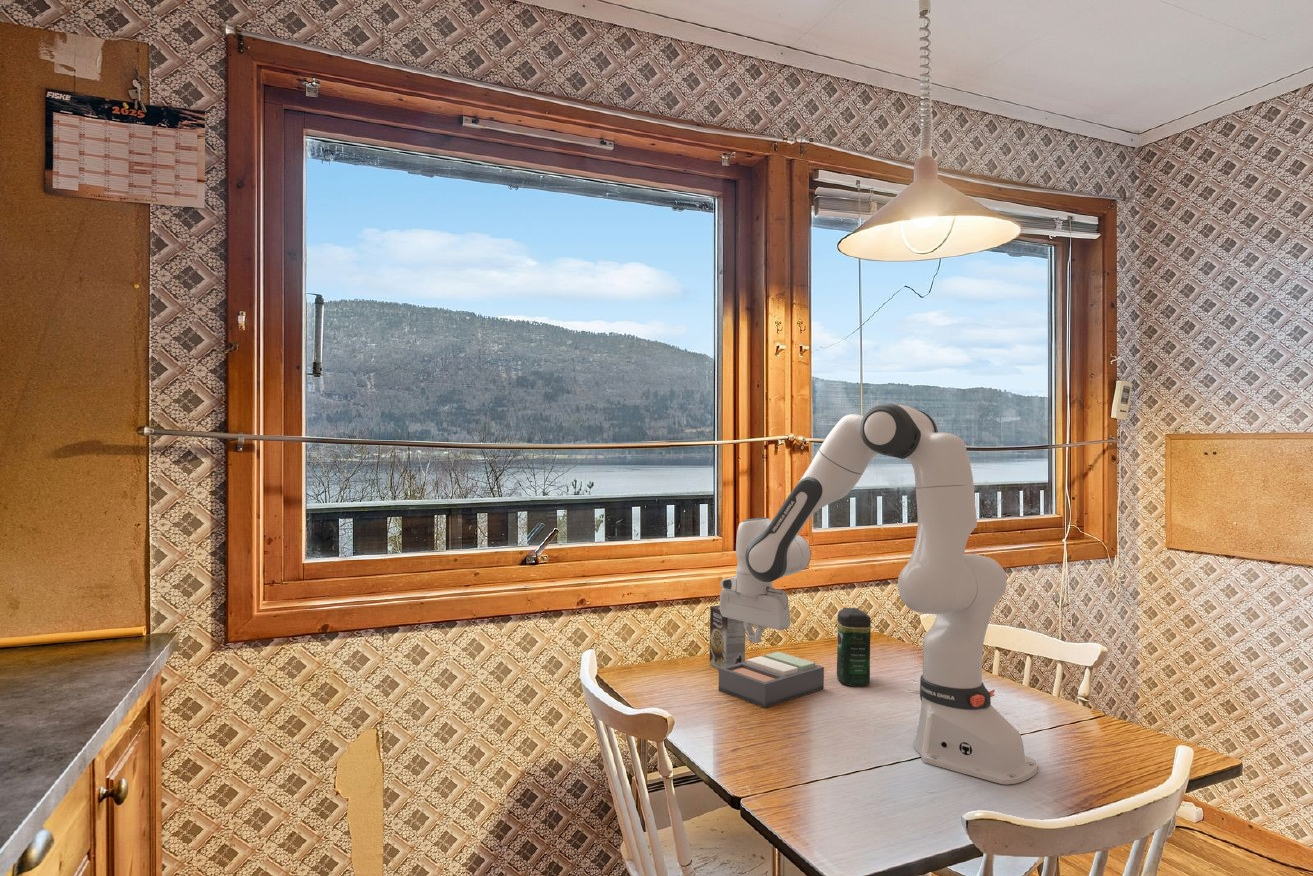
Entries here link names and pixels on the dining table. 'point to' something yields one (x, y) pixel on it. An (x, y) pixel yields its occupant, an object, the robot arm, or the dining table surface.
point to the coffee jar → (853, 647)
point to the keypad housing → (769, 684)
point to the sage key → (791, 660)
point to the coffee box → (725, 639)
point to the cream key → (772, 666)
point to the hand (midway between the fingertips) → (754, 641)
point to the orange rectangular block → (753, 674)
